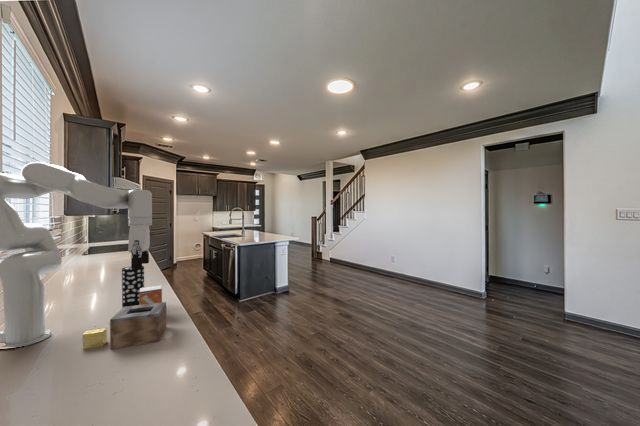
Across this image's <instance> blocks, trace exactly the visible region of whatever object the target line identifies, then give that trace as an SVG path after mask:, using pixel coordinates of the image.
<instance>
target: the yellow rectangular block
mask: <svg viewBox="0 0 640 426" xmlns="http://www.w3.org/2000/svg"><path fill="white" fill-rule="evenodd" d="M107 343H108V328H107V327H105V328H104V327H103V328H97V329H89V330H86V331H85V332H84V333H83V334H82V350H87V349H93V348H99V347H104V346H105V344H107Z"/></svg>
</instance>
